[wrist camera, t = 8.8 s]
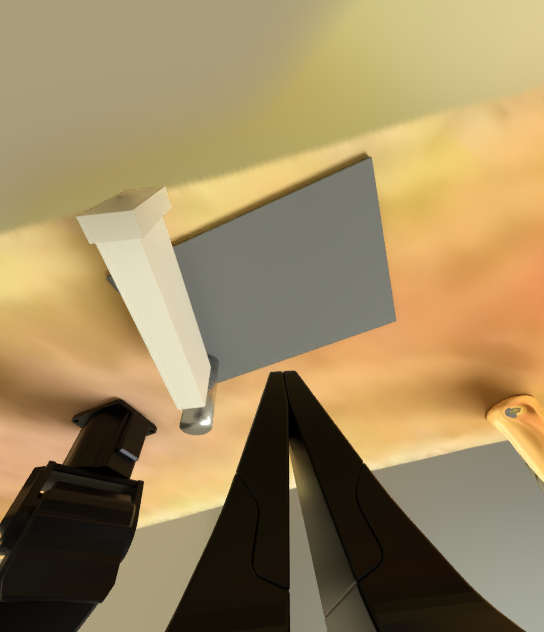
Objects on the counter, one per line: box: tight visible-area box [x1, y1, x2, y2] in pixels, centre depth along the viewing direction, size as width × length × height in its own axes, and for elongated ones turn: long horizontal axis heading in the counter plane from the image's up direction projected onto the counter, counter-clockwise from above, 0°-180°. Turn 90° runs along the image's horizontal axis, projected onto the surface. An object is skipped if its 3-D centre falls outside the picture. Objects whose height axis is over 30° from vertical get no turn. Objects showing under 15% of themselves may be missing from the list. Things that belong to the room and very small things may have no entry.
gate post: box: [180, 354, 219, 435], centre depth 23 cm, size 2×2×7 cm
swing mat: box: [106, 157, 396, 383], centre depth 22 cm, size 20×14×1 cm
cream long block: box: [76, 186, 211, 410], centre depth 18 cm, size 14×2×6 cm, turn 5°
